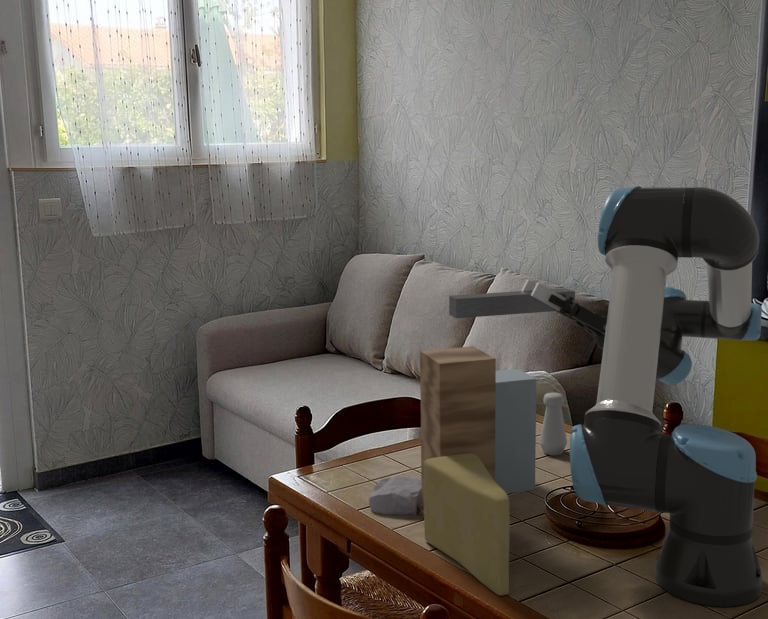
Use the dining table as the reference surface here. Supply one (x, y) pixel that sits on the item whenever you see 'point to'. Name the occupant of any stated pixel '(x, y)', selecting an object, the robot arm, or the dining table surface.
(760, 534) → the dining table surface
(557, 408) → the salt shaker
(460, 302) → the steel bar
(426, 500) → the cheese
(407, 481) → the stone block
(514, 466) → the grey-blue block
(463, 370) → the walnut stand
